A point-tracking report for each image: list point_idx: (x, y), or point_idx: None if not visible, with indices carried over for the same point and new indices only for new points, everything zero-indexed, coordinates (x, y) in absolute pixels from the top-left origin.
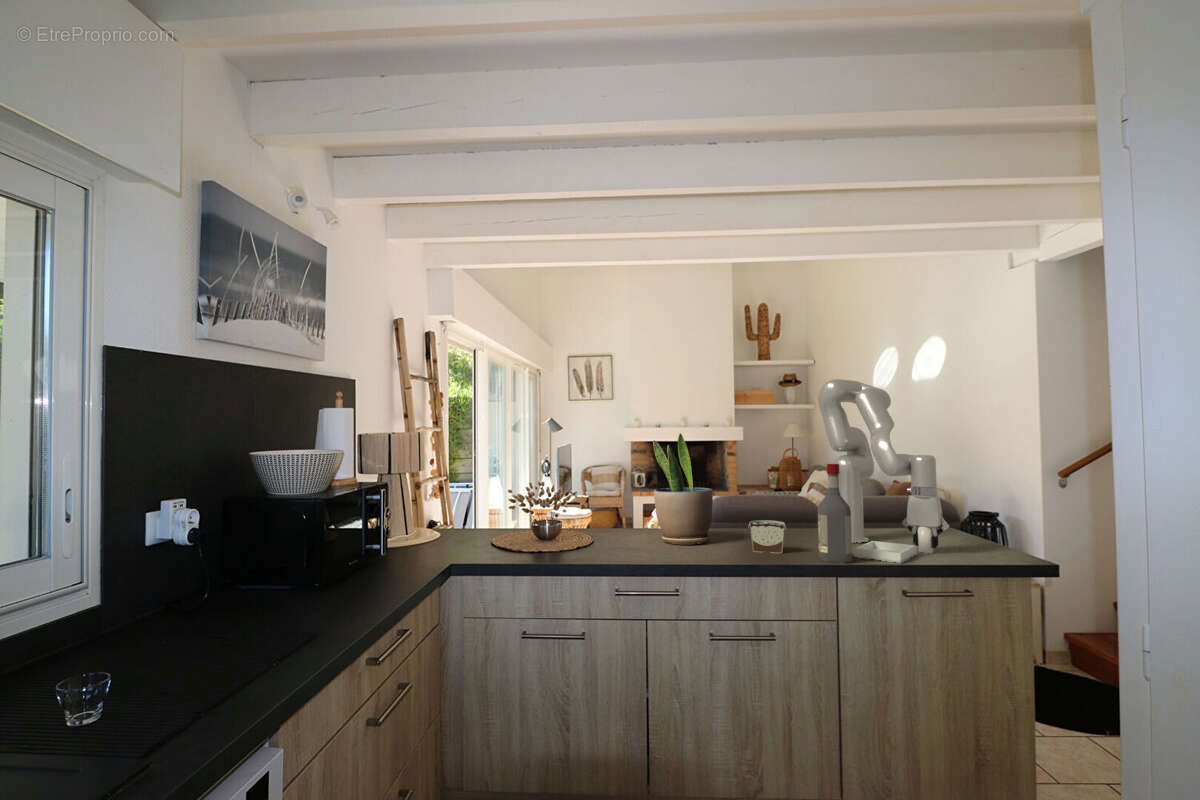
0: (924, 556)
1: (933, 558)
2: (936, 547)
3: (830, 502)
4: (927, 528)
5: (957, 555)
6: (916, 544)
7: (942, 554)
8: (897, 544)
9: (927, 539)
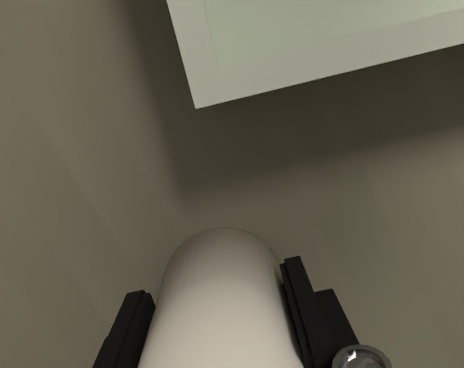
0: (119, 81)
1: (10, 49)
2: None
3: None
4: None
5: (12, 336)
6: (286, 266)
7: (95, 291)
8: (415, 21)
9: (163, 325)
